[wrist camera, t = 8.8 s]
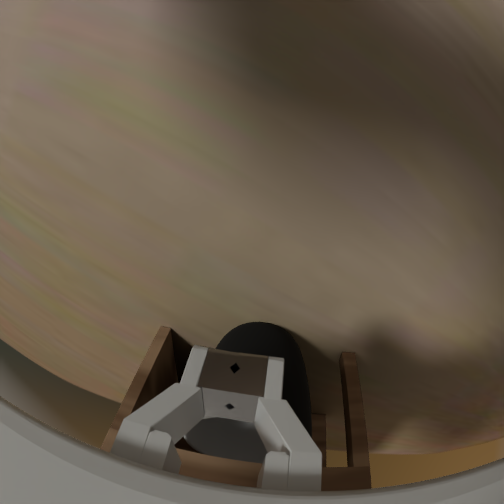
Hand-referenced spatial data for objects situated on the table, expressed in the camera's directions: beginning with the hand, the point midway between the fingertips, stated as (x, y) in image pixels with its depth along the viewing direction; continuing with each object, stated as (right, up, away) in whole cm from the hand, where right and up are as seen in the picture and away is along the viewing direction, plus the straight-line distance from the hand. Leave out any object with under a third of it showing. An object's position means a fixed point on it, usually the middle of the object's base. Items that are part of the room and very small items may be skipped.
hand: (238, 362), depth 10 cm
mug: (+1, -6, +17) cm, 18 cm away
